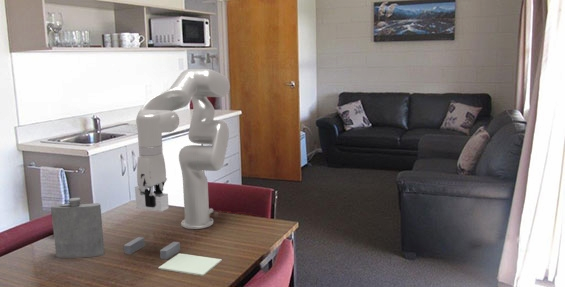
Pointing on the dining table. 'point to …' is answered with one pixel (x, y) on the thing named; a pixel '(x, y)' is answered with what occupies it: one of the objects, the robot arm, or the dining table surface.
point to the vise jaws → (139, 243)
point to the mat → (190, 264)
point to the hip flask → (77, 229)
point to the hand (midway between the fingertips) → (154, 204)
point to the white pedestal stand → (159, 201)
